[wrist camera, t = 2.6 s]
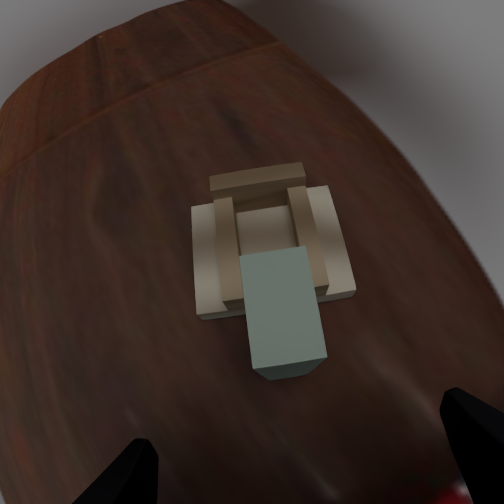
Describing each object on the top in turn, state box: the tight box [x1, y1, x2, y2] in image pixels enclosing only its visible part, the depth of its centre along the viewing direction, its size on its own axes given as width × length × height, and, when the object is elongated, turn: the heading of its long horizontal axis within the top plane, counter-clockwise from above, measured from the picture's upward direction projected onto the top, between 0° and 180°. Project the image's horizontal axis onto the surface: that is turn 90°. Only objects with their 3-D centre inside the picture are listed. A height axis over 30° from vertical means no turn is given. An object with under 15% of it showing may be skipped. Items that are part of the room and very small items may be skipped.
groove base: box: [191, 162, 356, 320], centre depth 20 cm, size 8×10×4 cm
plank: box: [239, 246, 327, 380], centre depth 15 cm, size 4×2×10 cm, turn 7°
